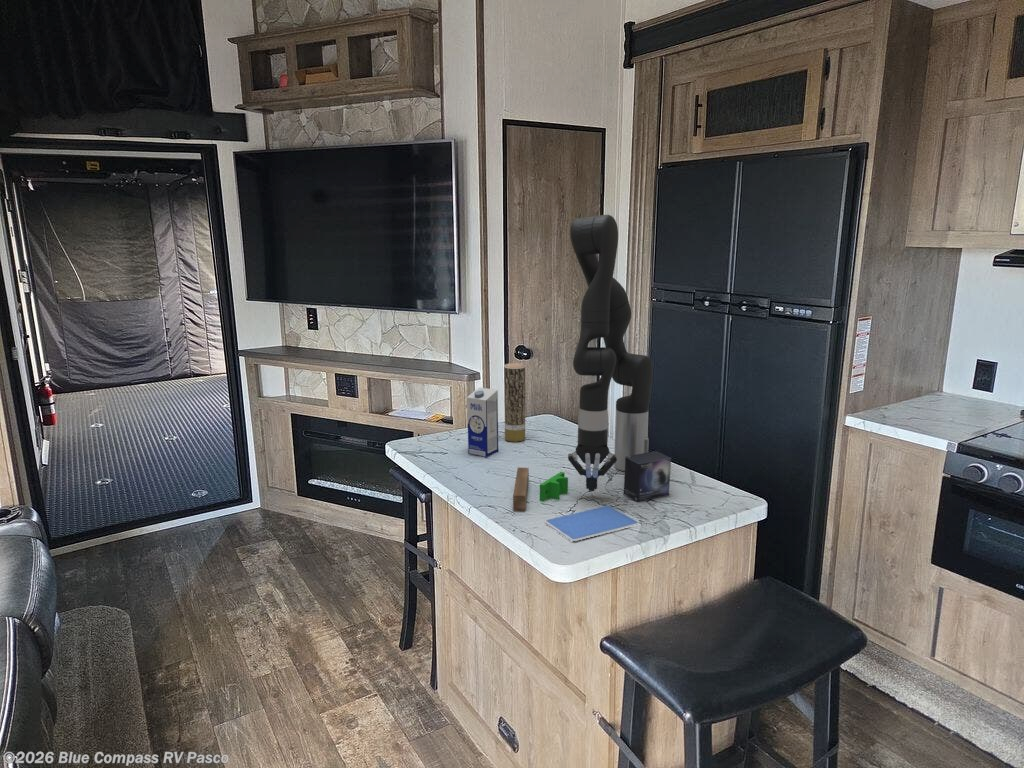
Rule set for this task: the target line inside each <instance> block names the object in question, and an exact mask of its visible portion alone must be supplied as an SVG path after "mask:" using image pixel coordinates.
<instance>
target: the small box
mask: <svg viewBox="0 0 1024 768" xmlns="http://www.w3.org/2000/svg"><path fill="white" fill-rule="evenodd" d="M671 464H672V457H670V456H668V455H665V454H664V453H662V452H659V451H658V450H654V451H648V453H642V454H637V455H631V456H626V457H625V471H624V477H623V478H624V479H623V480H624V481H623V483H624V484H623V495H624V496H626V497H628V498H630V499H632V500H634V501H635V502H637V503H638V502H642V501H648V500H652V499H657V498H660V497H666V496H669V495H670V481H671V470H672V469H671V467H672V465H671Z"/></svg>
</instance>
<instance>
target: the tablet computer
mask: <svg viewBox="0 0 1024 768" xmlns="http://www.w3.org/2000/svg"><path fill="white" fill-rule="evenodd" d="M545 524H546V525H545ZM638 524H640V522H639V521H637V520H635V519H634V518H632V517H630V516H628V515H627V514H625V513H624V512H623V511H622V512H621V511H619V510H618V509H616V508H614V507H613V506H611V505H603V506H599V507H596V508H591V509H587V510H584V511H577V512H574V513H570V514H566V515H562V516H556V517H553V518H548V519H546V520H544V525H545V526H547V525H548V526H549V527H548V526H547V527H548V528H550V527H551V528H552V529H554V530H556V531H557V532H559V533H560V534H562V535H563V536H565V537H567V538H568V539H570V540H572V541H577V540H581V541H583V540H582V539H585V538H589V539H591V538H590V537H593V538H595V537H594V536H597V537H599V536H598V535H600V534H604V535H606V534H605V533H608V534H610V533H609V532H612V531H616V530H618V529H622V528H626V527H630V526H634V525H638ZM551 528H550V529H551ZM552 529H551V530H552ZM554 530H553V531H554ZM557 532H556V533H557ZM616 532H617V531H616ZM612 533H613V532H612ZM560 534H559V535H560ZM563 536H562V537H563ZM600 536H601V535H600ZM585 540H586V539H585Z"/></svg>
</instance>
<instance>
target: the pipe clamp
mask: <svg viewBox="0 0 1024 768" xmlns="http://www.w3.org/2000/svg"><path fill="white" fill-rule="evenodd" d="M565 475H566V474H565V472H563V471H560V472H558V473H556V474H555V475H552V476H551V477H550V478H548V479H547V480H545V481H543V482H542V483H540V484H539V501H541V502H545V501H546V500H548V499H549V498H550V499H553V498H554V500H557V499H558V500H560V498H561V497H560V495H561V494H562V495H567V494H568V493H569V491H568V490H569V489H568V487H569V478H568V477H566V476H565Z"/></svg>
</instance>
